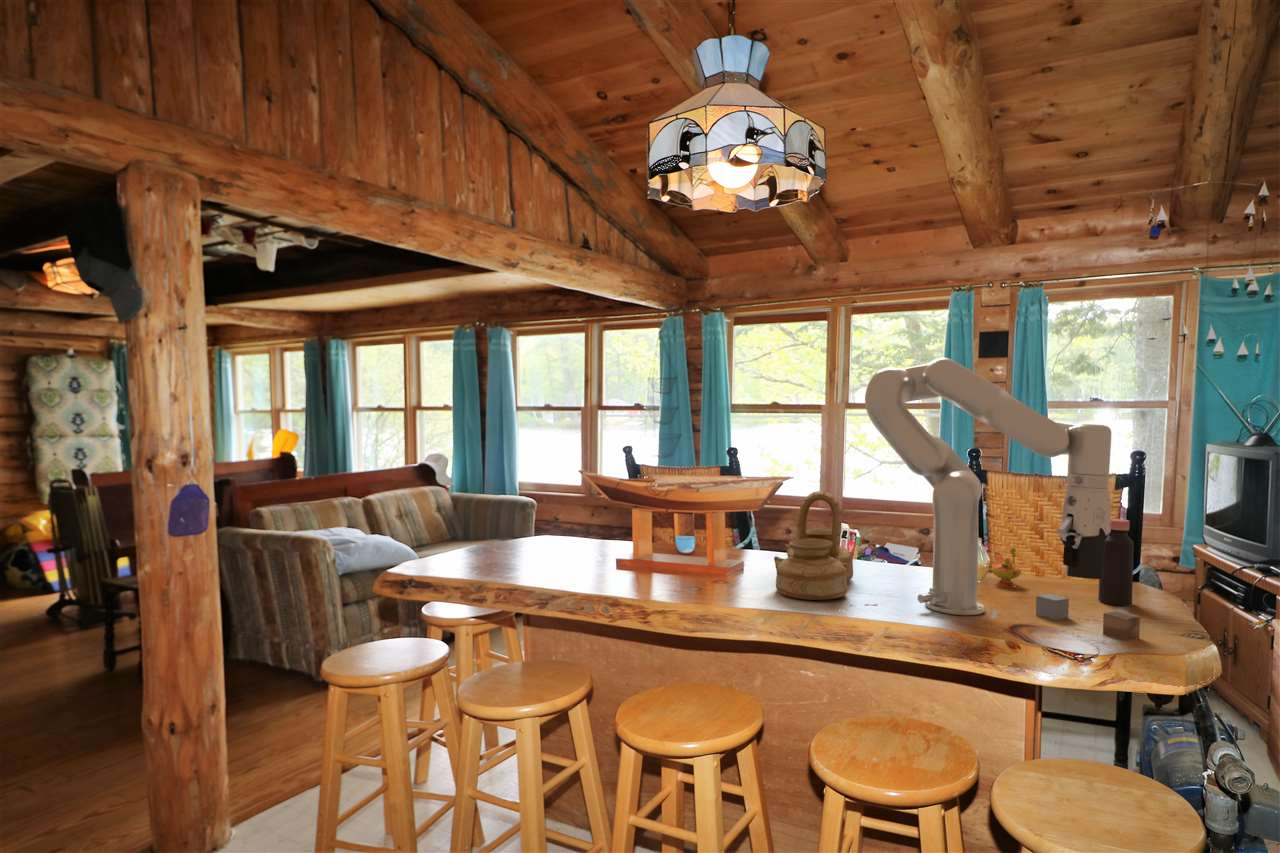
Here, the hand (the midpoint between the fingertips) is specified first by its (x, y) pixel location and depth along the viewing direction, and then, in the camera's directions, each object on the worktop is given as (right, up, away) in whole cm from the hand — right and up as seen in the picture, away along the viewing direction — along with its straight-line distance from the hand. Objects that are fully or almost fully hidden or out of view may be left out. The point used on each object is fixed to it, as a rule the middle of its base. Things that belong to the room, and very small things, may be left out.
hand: (1082, 564), depth 154 cm
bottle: (+19, -13, +19) cm, 30 cm away
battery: (0, -3, 0) cm, 3 cm away
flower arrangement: (+2, -12, +37) cm, 39 cm away
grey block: (-3, -13, +7) cm, 15 cm away
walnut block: (+4, -14, -7) cm, 16 cm away
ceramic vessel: (-50, -12, +33) cm, 61 cm away
